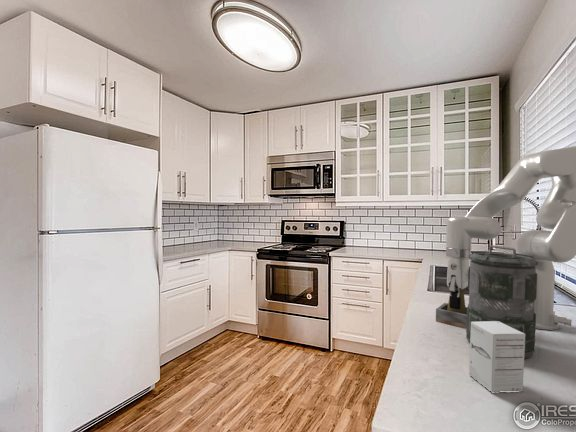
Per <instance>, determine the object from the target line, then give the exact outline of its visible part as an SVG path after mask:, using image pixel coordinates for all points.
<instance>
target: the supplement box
mask: <svg viewBox="0 0 576 432" xmlns="http://www.w3.org/2000/svg"><path fill="white" fill-rule="evenodd" d="M524 352H525V334H524V333H522V332H520V331H518V330H516V329H514V328H512V327H510V326H508V325H506V324H503V323H501V322H499V321H480V322H471V335H470V343H469V364H468V376H469V375H470V376H469V377H471V376H472V377H473V378H472V377H471V378H472V379H474V381H476V380H477V381H478V382H477V381H476V382H477V383H479V384H480V385H481V384H482V385H483V386H482V385H481V386H482V387H483V388H485V387H486V388H487V389H488V390H489V391H491V392H500V391H524V390H523V389H524V372H525V371H524V370H525V358H524ZM486 388H485V389H486ZM487 389H486V390H487ZM488 390H487V391H488ZM489 391H488V392H489ZM491 392H490V393H491Z"/></svg>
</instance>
